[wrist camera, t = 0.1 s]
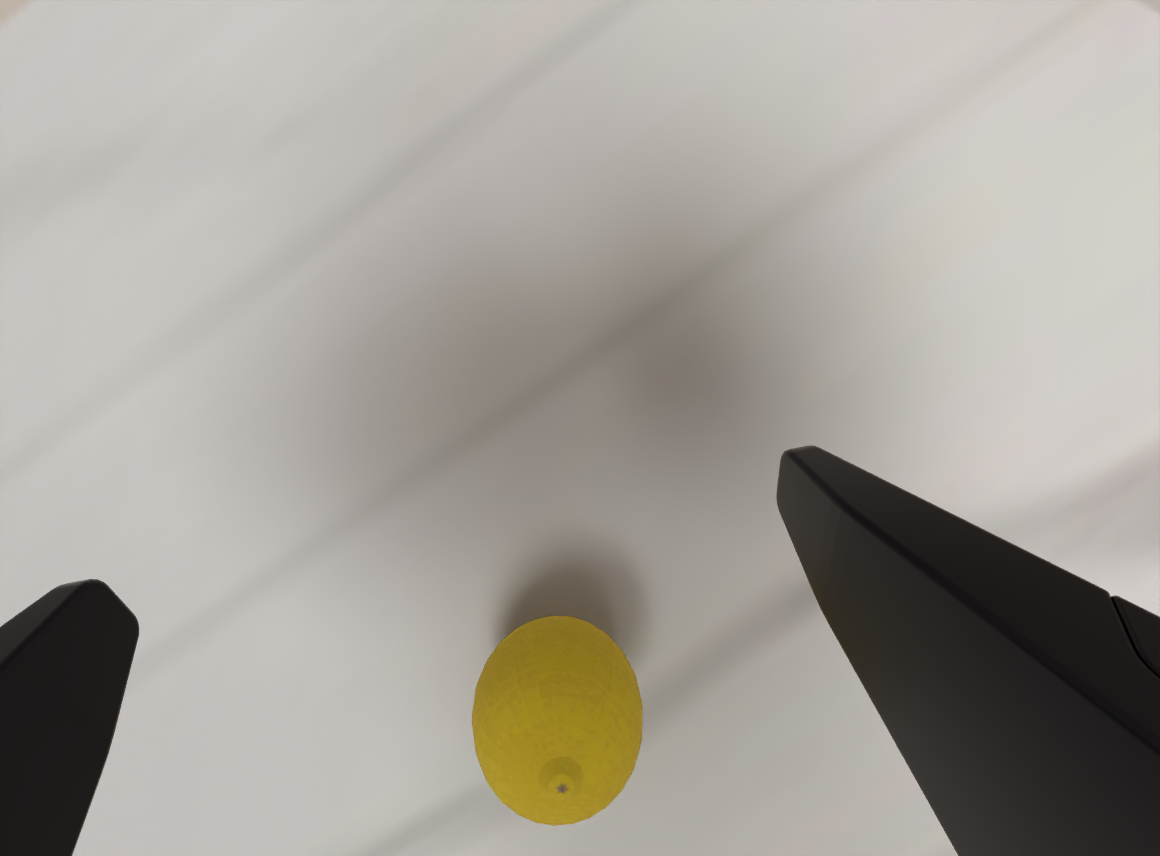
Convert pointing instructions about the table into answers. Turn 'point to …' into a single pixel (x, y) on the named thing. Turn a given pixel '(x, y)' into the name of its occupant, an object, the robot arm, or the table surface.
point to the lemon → (557, 720)
